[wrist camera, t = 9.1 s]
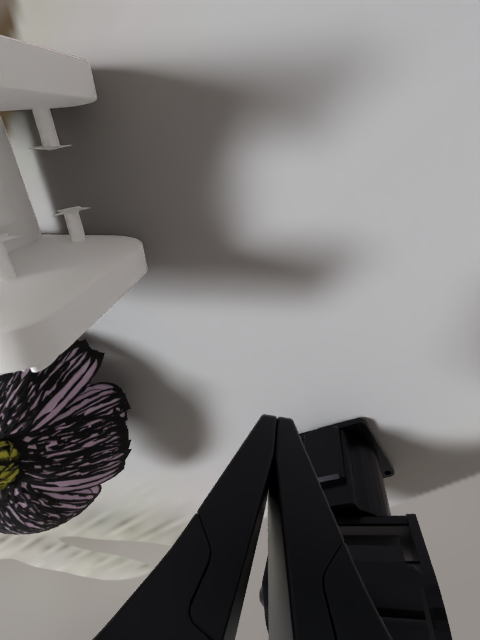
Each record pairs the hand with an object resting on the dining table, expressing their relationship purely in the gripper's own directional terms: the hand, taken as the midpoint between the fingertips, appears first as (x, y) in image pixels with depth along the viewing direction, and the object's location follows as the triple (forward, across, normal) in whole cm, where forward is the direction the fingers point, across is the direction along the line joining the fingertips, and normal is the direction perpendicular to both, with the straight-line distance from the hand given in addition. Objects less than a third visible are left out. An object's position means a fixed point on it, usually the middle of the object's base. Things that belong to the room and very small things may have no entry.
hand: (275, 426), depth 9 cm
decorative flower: (+12, +18, +14) cm, 25 cm away
